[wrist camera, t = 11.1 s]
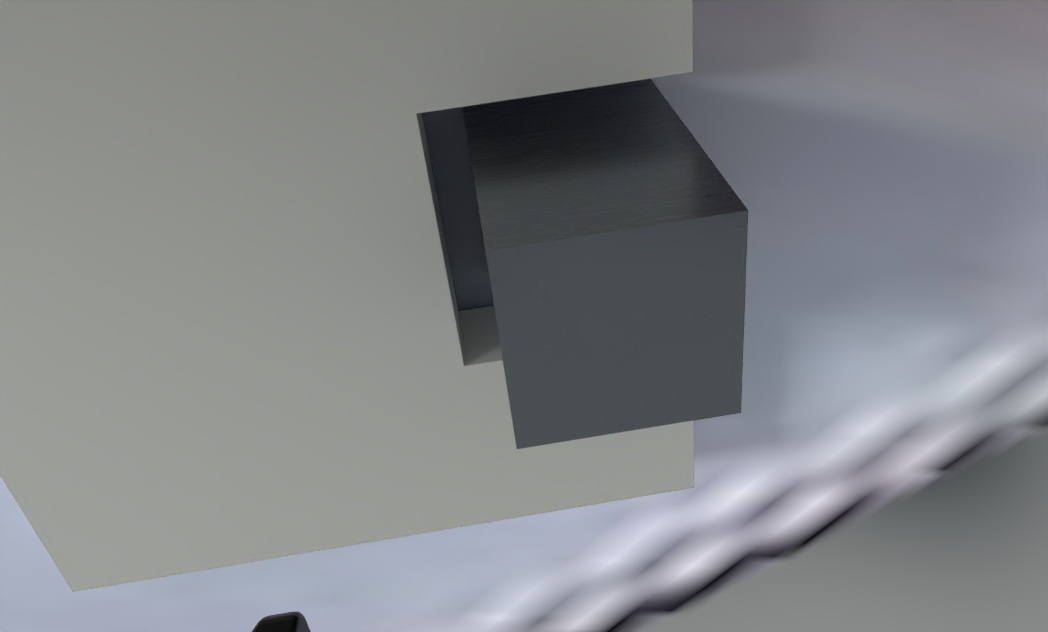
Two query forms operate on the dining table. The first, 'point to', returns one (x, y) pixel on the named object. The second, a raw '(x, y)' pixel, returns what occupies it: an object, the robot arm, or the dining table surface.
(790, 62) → the dining table surface
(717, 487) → the dining table surface
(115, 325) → the notched board
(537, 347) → the steel block
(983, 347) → the dining table surface
